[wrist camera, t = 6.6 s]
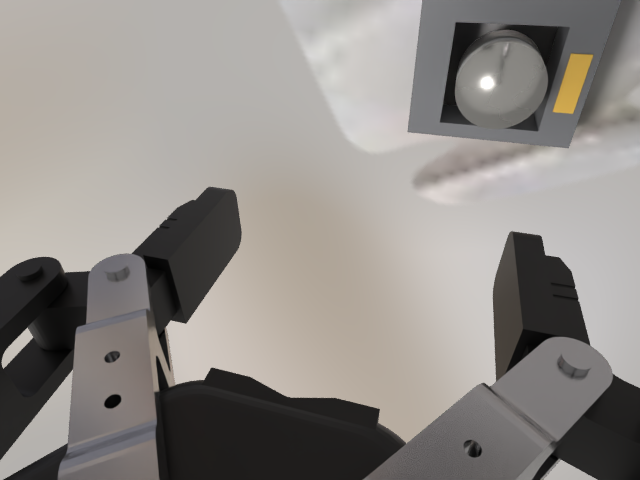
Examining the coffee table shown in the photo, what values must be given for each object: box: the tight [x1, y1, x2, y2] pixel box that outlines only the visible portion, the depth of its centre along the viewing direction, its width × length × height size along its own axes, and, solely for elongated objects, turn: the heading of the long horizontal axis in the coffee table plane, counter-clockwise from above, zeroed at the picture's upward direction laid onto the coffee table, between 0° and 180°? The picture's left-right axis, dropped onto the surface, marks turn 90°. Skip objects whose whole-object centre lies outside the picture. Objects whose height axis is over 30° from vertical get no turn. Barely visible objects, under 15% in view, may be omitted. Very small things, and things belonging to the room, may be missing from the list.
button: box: [455, 30, 548, 129], centre depth 24 cm, size 4×4×3 cm
